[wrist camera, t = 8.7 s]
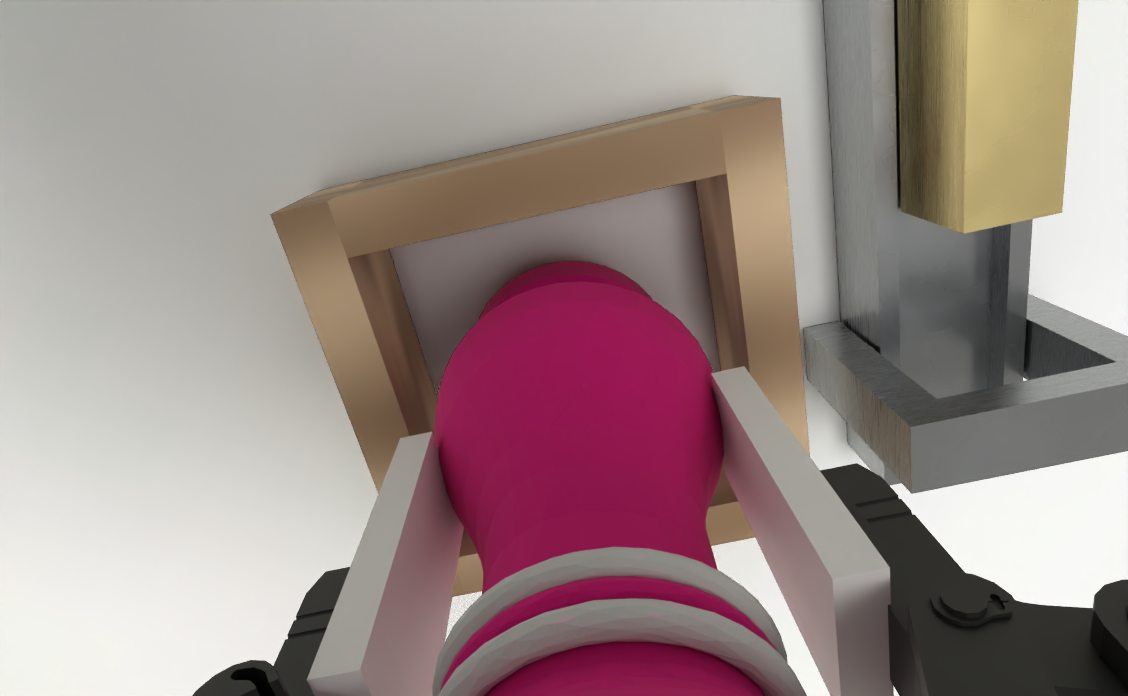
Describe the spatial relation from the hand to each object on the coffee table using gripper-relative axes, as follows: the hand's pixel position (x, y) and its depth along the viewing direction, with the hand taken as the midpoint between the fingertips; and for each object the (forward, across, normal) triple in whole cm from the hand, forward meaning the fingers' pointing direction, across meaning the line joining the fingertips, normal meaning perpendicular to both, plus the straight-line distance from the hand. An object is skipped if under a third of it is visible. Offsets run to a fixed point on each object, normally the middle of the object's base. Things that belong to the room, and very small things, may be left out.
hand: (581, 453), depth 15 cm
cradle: (+8, 0, 0) cm, 8 cm away
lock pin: (+6, +12, +8) cm, 15 cm away
